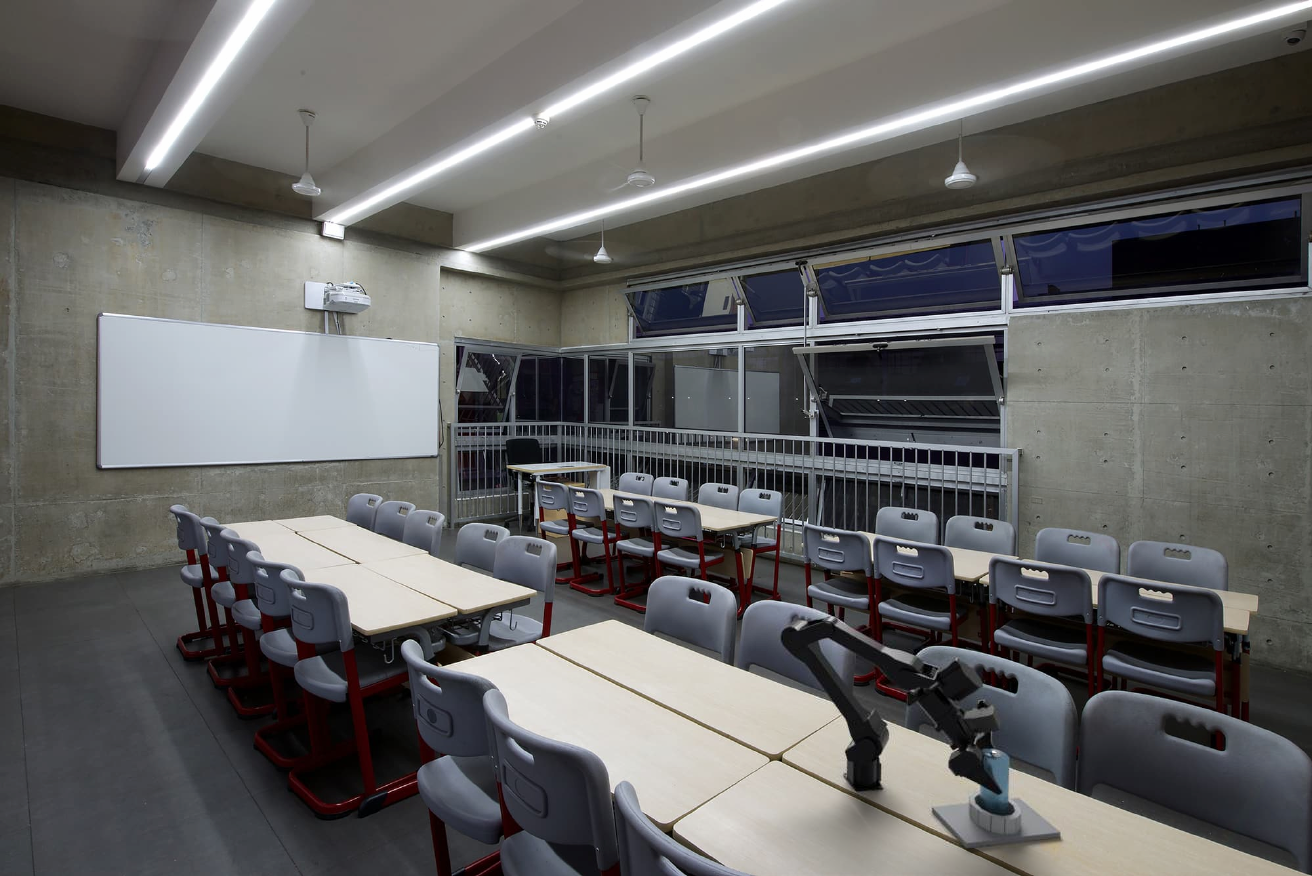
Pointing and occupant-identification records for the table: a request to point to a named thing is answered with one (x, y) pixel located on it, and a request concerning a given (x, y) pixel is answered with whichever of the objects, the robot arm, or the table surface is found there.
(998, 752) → the cylinder
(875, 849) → the table surface
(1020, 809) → the socket plate
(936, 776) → the table surface
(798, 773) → the table surface
